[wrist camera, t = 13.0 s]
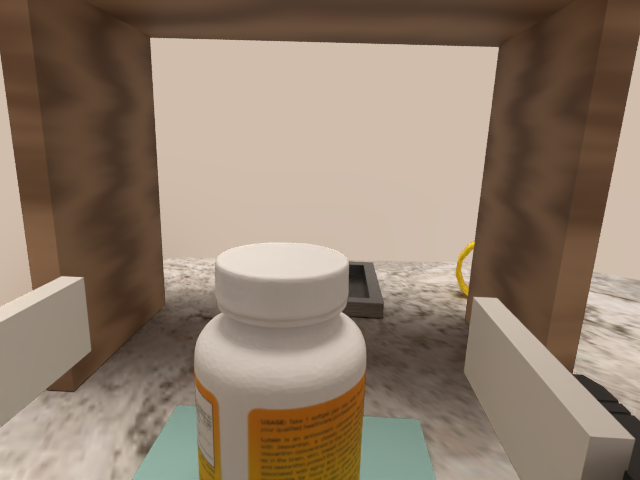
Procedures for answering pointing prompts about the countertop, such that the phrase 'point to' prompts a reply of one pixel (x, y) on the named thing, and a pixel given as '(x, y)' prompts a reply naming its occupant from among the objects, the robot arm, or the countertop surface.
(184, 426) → the pad
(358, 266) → the tray
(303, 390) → the supplement bottle
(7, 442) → the countertop surface
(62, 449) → the countertop surface
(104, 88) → the tunnel
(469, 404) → the countertop surface
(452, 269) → the countertop surface
